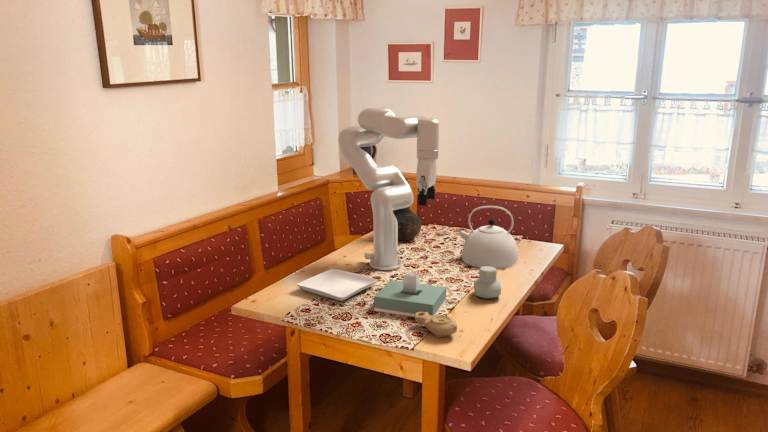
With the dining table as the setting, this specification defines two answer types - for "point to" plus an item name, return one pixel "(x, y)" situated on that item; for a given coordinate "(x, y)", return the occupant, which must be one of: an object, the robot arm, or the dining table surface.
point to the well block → (409, 299)
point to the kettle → (489, 245)
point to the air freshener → (487, 283)
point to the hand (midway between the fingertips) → (426, 202)
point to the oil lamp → (437, 323)
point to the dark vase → (407, 223)
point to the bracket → (411, 284)
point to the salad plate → (336, 284)
